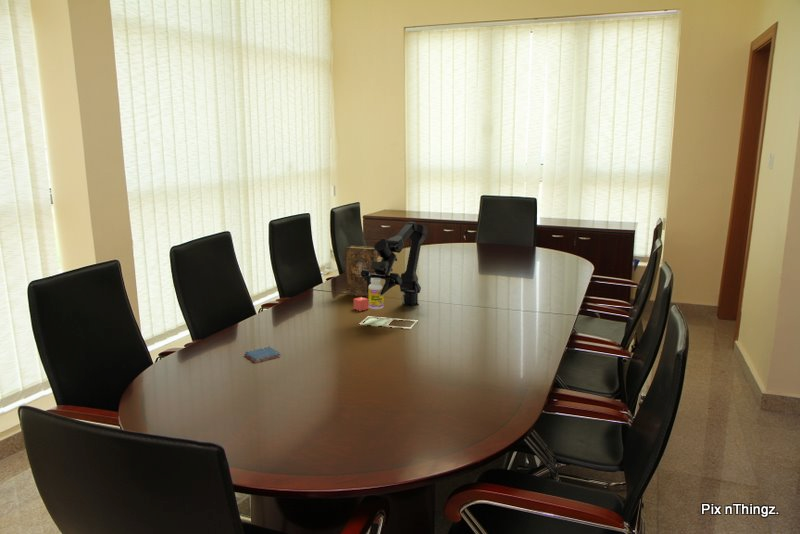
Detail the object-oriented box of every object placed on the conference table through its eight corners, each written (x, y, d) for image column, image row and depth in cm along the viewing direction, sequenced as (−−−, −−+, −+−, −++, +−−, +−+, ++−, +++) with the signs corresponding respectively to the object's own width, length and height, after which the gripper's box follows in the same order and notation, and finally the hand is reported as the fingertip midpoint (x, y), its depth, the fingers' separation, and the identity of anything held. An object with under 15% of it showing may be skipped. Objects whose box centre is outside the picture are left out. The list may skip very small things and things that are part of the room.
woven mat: (243, 356, 228) (242, 351, 227) (269, 350, 234) (269, 345, 234) (254, 364, 220) (254, 359, 219) (281, 358, 226) (281, 353, 225)
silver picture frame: (418, 321, 268) (418, 320, 268) (410, 329, 257) (410, 328, 257) (368, 317, 275) (368, 316, 275) (359, 324, 264) (359, 323, 264)
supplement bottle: (369, 309, 263) (368, 281, 260) (368, 305, 269) (367, 277, 267) (384, 309, 264) (384, 280, 261) (383, 305, 270) (382, 276, 267)
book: (379, 295, 313) (378, 247, 308) (375, 297, 308) (374, 249, 303) (350, 292, 319) (349, 245, 314) (346, 294, 314) (344, 247, 309)
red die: (362, 307, 291) (362, 295, 290) (368, 309, 288) (368, 297, 287) (353, 308, 288) (353, 297, 287) (359, 311, 285) (359, 299, 283)
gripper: (361, 251, 269) (348, 281, 262) (398, 255, 261) (386, 286, 254) (371, 265, 278) (358, 294, 271) (407, 269, 269) (395, 299, 262)
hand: (374, 293), depth 264 cm, fingers closed on supplement bottle, 7 cm apart
